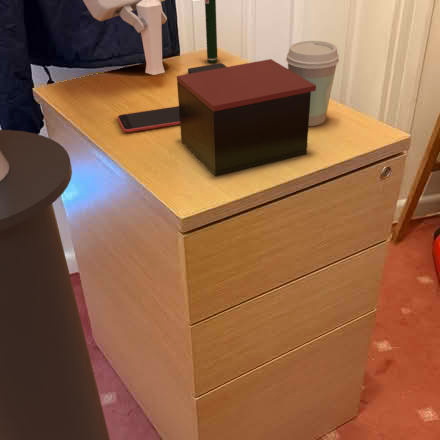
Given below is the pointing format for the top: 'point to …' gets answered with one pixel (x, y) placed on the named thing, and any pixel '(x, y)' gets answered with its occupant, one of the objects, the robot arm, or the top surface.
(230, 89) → the box lid
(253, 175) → the top surface
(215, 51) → the flashlight
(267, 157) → the box
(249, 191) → the top surface
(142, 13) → the white pentagonal vase
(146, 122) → the smartphone
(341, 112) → the top surface
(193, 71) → the phone
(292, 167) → the top surface
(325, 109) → the coffee cup
